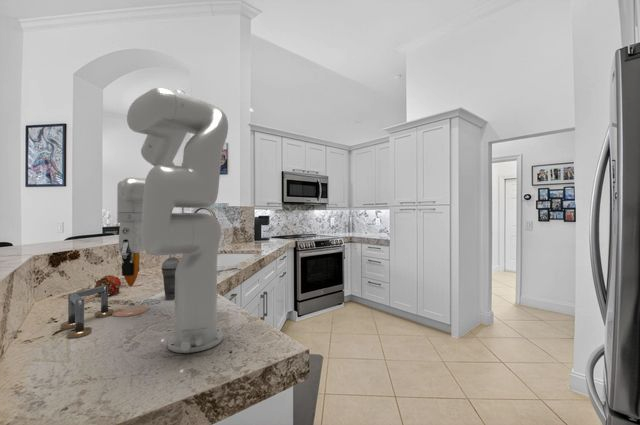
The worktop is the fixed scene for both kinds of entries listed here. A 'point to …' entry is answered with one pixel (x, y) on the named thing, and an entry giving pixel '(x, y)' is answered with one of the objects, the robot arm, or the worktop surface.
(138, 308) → the terracotta coaster
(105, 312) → the grey cabinet handle
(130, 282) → the carrot
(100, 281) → the dragon fruit
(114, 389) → the worktop surface
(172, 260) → the beverage cup
